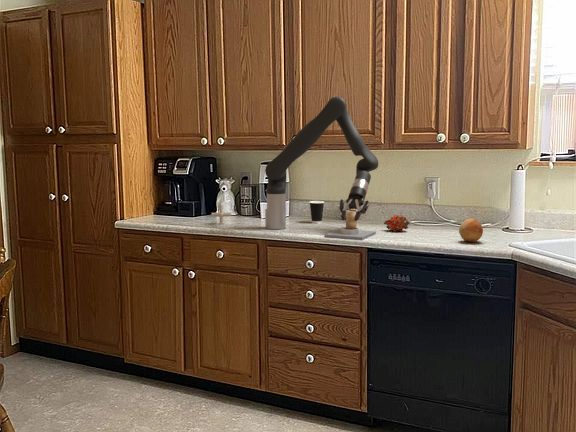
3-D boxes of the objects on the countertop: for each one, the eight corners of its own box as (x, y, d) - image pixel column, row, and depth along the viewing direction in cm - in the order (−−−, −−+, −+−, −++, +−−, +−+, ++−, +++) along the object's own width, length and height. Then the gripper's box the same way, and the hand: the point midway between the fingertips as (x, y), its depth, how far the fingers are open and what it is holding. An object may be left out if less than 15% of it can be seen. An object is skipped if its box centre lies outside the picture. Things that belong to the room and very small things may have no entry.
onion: (454, 242, 255) (454, 218, 254) (465, 239, 262) (466, 216, 261) (475, 244, 248) (476, 220, 247) (486, 241, 255) (487, 218, 254)
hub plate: (324, 237, 270) (324, 230, 269) (339, 231, 285) (339, 224, 285) (362, 240, 261) (362, 232, 261) (376, 233, 277) (376, 227, 277)
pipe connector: (231, 222, 317) (231, 203, 316) (230, 225, 308) (230, 205, 306) (212, 222, 317) (212, 203, 316) (210, 225, 307) (210, 206, 306)
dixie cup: (306, 222, 316) (306, 201, 315) (319, 221, 320) (319, 200, 319) (314, 224, 309) (314, 202, 308) (327, 222, 313) (327, 202, 312)
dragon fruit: (410, 235, 282) (385, 237, 287) (412, 223, 288) (388, 225, 293) (405, 222, 277) (380, 224, 282) (408, 210, 283) (383, 212, 288)
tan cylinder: (344, 232, 272) (344, 209, 271) (347, 231, 277) (348, 208, 275) (353, 233, 270) (354, 210, 269) (357, 232, 274) (358, 209, 273)
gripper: (342, 185, 280) (332, 213, 271) (371, 186, 274) (362, 215, 265) (346, 195, 286) (336, 223, 277) (375, 196, 279) (366, 225, 270)
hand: (349, 219), depth 271 cm, fingers open, 5 cm apart
